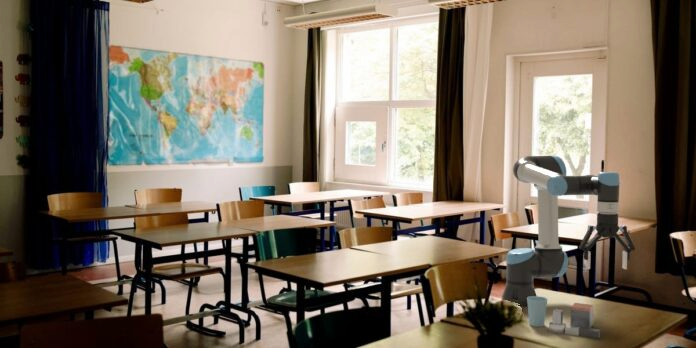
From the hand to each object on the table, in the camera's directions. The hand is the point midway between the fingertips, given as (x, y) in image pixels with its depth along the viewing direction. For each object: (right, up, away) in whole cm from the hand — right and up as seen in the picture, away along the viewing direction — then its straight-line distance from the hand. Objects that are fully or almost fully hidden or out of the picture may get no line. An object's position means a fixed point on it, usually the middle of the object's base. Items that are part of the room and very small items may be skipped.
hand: (606, 268), depth 257 cm
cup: (-24, -23, +8) cm, 35 cm away
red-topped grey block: (-7, -23, +6) cm, 25 cm away
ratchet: (-14, -24, -4) cm, 28 cm away
